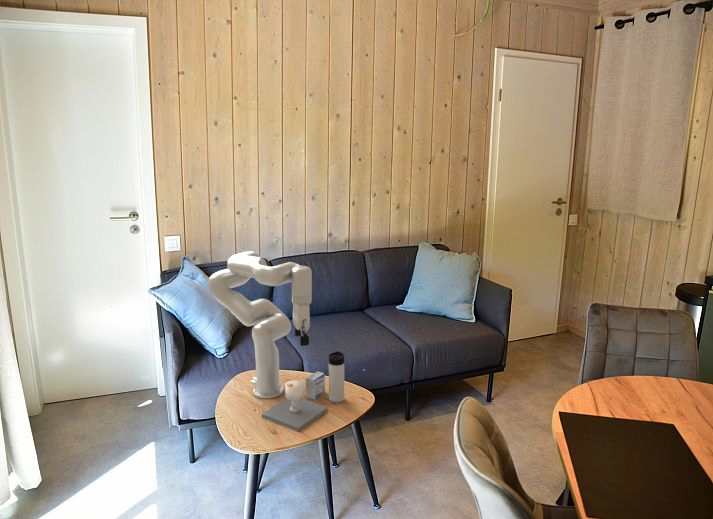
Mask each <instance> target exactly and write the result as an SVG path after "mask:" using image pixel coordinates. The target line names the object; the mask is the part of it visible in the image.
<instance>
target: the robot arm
mask: <svg viewBox="0 0 713 519" xmlns="http://www.w3.org/2000/svg"><path fill="white" fill-rule="evenodd" d="M226 263H227V264H226V266H227V268H226V269H225V268H224V269H221V270H218V271H216V272H214V273H212V274H211V275H210V276H209V278H208V282H207V283H208V290H209V292H210V294H211V296H212V297H213V299H215V300H216V301H217V302H218V303H219V304H220V305H222V306H223V307H224V308H226V309H227V310H228V311H229V312H230V313H231V314H232V316H234V318H236V319H237V320H238V321H239V322H241V324H243V326H246V327H251V326H253V327H252V329H251V337H252V340H253V346H254V354H255V356H254V358H255V375H256V376H253V377H252V380H251V381H250V384H252V385H254V387H253V388H252V394H253V395H254V396H255V397H257V398H259V399H273V398H277V397H279V396H281V395H282V394H283V393H284V386H283V385H282V384H280V354H279V349H278V347H277V345H276V344H275V341H277V340H279V339H282V338H283V337H285V336H287V335H288V334H289V333H290V332H291V330H292V324H293V326H294V336H295V337H300V340H299V342H300V343H299V344H300V347H304V346H309V345H310V336H309V335H310V334H309V333H310V332H309V329H310V326H311V325H310V323H311V322H310V321H311V320H310V319H311V317H310V316H311V315H310V311H311V310H310V304H312V299H313V298H312V295H313V294H312V293H313V292H312V291H313V290H312V289H313V288H312V286H313V285H312V283H313V280H312V277H313V275H312V274H313V273H312V269H311V267H309V266H306V265H301V264H298V263H296V262H293V261H288V262H284V263H281V264H278V265H274V266H268V265H267V261H266V260H265V259H264V258H263V257H261V256H260V255H259V254H258V253H257V252H256V251H253V250H248V251H244V252H239V253H237V254H234V255H231V256H230V257H229V258H228V260H227V262H226ZM251 278H253V279H254V280H255V281H256V283H257V282H258V284H261V285H264V286H269V287H279V286H282V285H285V284H288V283H291V303H292V305H293V306H292V323H291V321H290V319H289V317H288V316H287V315H286V314H285V313H284V311H282V310H281V309H279V308H278V307H277V306H276V305H275V304H274V303H273V302H272V301H270V300H269V299H266V298H259V299H256V300H249V299H248V298H246V296H244V294H242V293H241V292H238V291H236V290H233V288H237V287H240V286H243V285H244V284H246V283H247V282H248V281H249V280H250V279H251Z"/></svg>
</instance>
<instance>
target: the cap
mask: <svg viewBox="0 0 713 519" xmlns="http://www.w3.org/2000/svg"><path fill="white" fill-rule="evenodd" d="M304 386H305V383H304V382H303V381H302V380H298V379H292V380H287V382H285V385H284V387H285V388H284V393H285V399H288V400H292V401H296V400H300V399H304V397H305V391H304V390H305V387H304Z"/></svg>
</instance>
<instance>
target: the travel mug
mask: <svg viewBox="0 0 713 519" xmlns="http://www.w3.org/2000/svg"><path fill="white" fill-rule="evenodd" d="M328 401H329V403H331V404H332V405H333V404H335V405H340V404H342V403H344V401H345V354H344V353H343V352H341V351H337V350H336V351H335V352H332V353H329V355H328Z"/></svg>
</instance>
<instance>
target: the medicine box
mask: <svg viewBox="0 0 713 519" xmlns="http://www.w3.org/2000/svg"><path fill="white" fill-rule="evenodd" d="M325 392H326V373H324V372H321V371H315V372H313V373H312V374H311V375H309V376H308V377H306V378H305V394H306V395H305V397H306V398H308V399H311V400H316V399H318V398H319V397H320V396H322V395H323V394H324V393H325Z"/></svg>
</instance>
